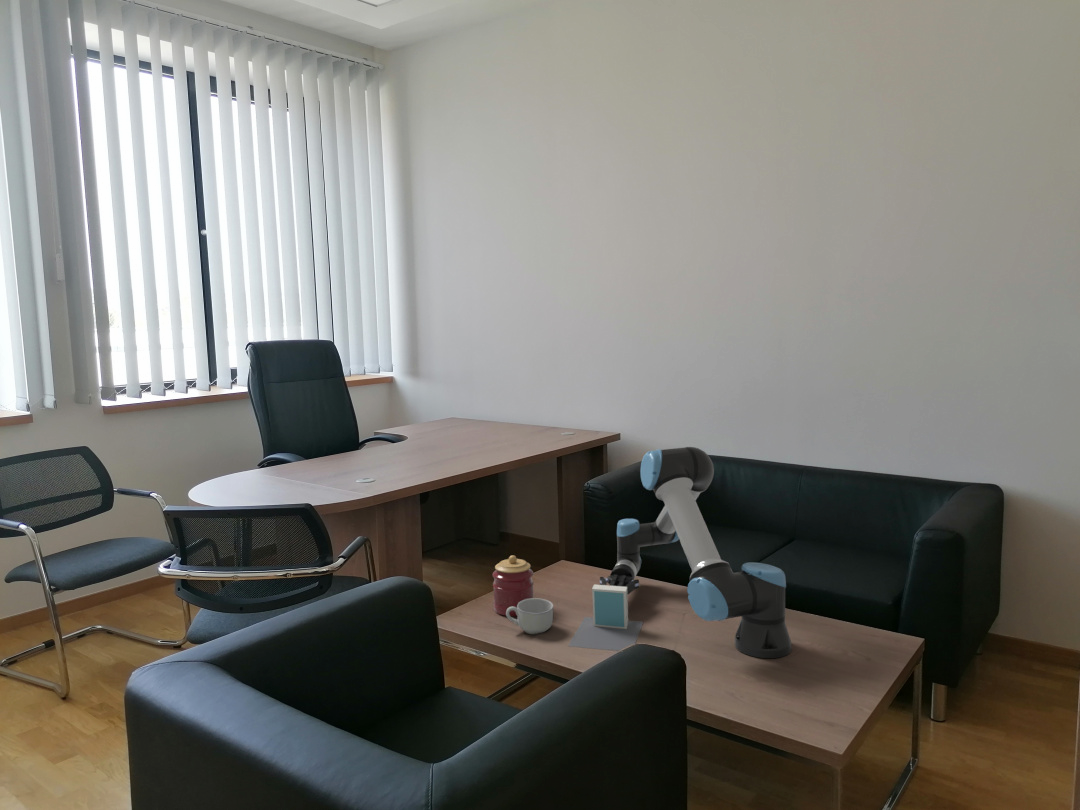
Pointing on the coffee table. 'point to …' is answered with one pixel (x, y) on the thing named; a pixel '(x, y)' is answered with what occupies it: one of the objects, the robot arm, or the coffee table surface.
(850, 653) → the coffee table surface
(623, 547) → the robot arm
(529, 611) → the teacup
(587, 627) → the mat
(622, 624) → the tile
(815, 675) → the coffee table surface
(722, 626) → the coffee table surface
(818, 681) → the coffee table surface
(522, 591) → the canister
